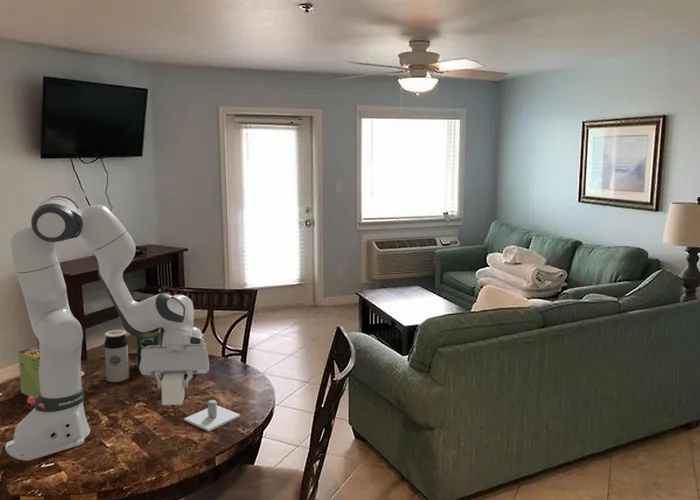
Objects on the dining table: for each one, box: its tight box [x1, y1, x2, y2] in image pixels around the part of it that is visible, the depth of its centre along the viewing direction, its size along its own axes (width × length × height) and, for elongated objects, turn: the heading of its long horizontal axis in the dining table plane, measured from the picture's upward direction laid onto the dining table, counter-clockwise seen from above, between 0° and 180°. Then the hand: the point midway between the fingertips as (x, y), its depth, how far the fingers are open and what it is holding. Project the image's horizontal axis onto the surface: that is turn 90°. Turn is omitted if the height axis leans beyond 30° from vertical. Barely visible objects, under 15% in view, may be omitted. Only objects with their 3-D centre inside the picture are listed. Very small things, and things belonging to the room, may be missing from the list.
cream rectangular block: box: [161, 373, 185, 406], centre depth 172 cm, size 6×6×8 cm
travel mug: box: [104, 329, 130, 383], centre depth 218 cm, size 8×8×18 cm
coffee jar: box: [135, 327, 161, 369], centre depth 231 cm, size 10×8×19 cm
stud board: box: [183, 399, 241, 432], centre depth 187 cm, size 13×12×6 cm
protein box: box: [18, 345, 40, 399], centre depth 204 cm, size 10×15×16 cm
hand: (172, 386), depth 172 cm, fingers closed on cream rectangular block, 6 cm apart
